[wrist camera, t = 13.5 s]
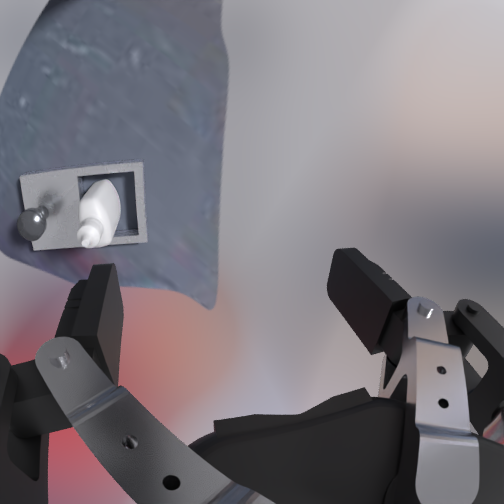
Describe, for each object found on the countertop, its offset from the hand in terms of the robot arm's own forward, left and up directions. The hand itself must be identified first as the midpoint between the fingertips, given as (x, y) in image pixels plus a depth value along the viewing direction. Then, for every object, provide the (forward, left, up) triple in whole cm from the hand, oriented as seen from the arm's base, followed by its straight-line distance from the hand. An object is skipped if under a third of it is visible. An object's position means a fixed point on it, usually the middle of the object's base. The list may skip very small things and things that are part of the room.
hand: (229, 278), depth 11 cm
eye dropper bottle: (+6, -10, -28) cm, 31 cm away
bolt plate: (+6, -13, -28) cm, 32 cm away
